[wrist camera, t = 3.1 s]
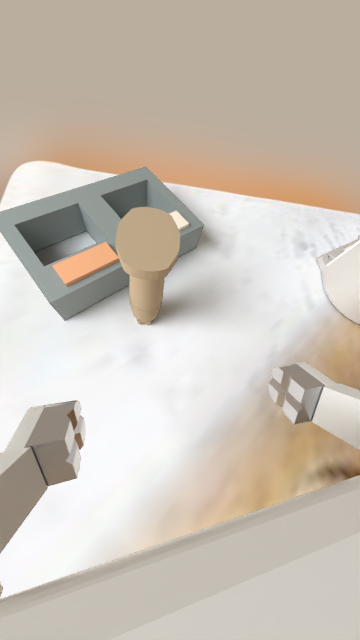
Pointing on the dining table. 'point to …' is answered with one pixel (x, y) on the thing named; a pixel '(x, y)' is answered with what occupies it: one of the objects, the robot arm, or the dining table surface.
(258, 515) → the robot arm
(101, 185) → the socket board
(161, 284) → the handle
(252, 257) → the dining table surface
